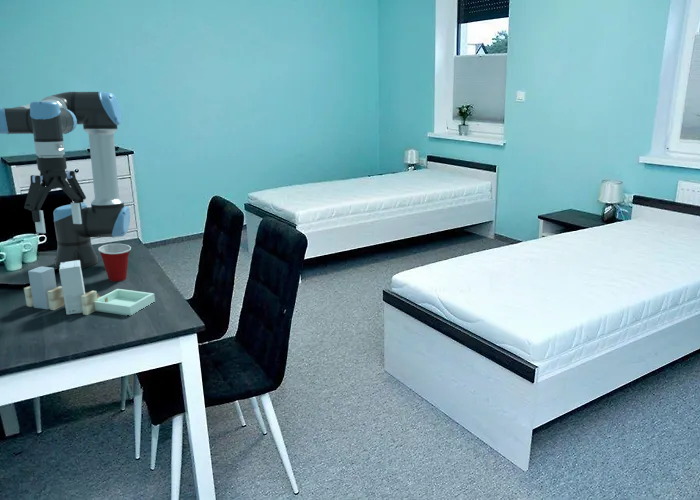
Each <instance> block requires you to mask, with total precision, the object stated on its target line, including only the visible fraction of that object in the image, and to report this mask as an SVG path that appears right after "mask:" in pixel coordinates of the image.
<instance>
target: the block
mask: <svg viewBox="0 0 700 500" xmlns="http://www.w3.org/2000/svg"><path fill="white" fill-rule="evenodd" d="M27 272H28V273H27V274H28V278H29V279H28V280H29V284H30V285H29V286H30V287H31V293H32V299H33V308H35V309H43V310H49V309H50V307H49V300H48V294H47V291H50V290H52V289H54V288H57V287H58V286H57V281H56V280H57V279H56V274H55V268H54V267H50V266H49V267H48V266H38V267H35V268H33V269H30V270H28V271H27Z"/></svg>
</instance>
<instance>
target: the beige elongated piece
mask: <svg viewBox="0 0 700 500" xmlns="http://www.w3.org/2000/svg"><path fill="white" fill-rule="evenodd" d="M23 292H24V297H25V298H24V299H25V303H26V307H30V308H32V307H34V305H33V299H32V293H31V287H30V285H29V286H26V287H23ZM47 294H48V300H49V307H50V308H49V310H51V311H55V310H57V309H59V308H61V307H65V302H64V297H63V291H62V285H58V286H57V288H54V289H52V290H50V291H47ZM100 297H102V295H101V296H100V294H99V293H98V292H97V290H91V291H88V292H85V294H84V295H82V296H81V302H82V309H83V313H82V315H84V316H88V315H91V314H92V313H94V312H96V311H95V304H94V302H95V301H98V298H100ZM105 302H108V298H107V297H106V298H105Z"/></svg>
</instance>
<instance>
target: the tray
mask: <svg viewBox="0 0 700 500" xmlns="http://www.w3.org/2000/svg"><path fill="white" fill-rule="evenodd" d="M106 297H107V298H108V302H105V298H106ZM153 302H155V303H156V296H155V292H154V293H152V292H145V291H139V290H131V289H122V288H115V289H114V290H112V291H111V292H108V293H106V294H104V295H101V297H100V298H98V301H95V302H94V304H95V311H94V312H101V313H107V314H114V315H121V316H127V315H129V316H128V317H132V316H134V315H135V313H136V312H137V313H138V311H139V310H141V309H143V308H144V309H146V308H147V307H146V306H148V305H149V306H151V305H152V304H151V303H153ZM150 304H151V305H150ZM153 304H154V303H153ZM149 306H148V307H149ZM145 307H146V308H145ZM144 309H143V310H144ZM141 311H142V310H141ZM139 312H140V311H139ZM137 313H136V314H137ZM133 314H134V315H133ZM131 315H132V316H131Z"/></svg>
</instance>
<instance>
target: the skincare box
mask: <svg viewBox="0 0 700 500" xmlns="http://www.w3.org/2000/svg"><path fill="white" fill-rule="evenodd" d="M58 271H59V278H60V283H61V284H60V286H62V291H63V297H64V302H65V305H64V307H65V312H66V315H73V314H83V309H82V302H81V296H82V295H84V294H85V293H86V289H85V283H84V277H83V271H82V268H81V264H80V260H76V261H69V262H61V263H60V268H58Z"/></svg>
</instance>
